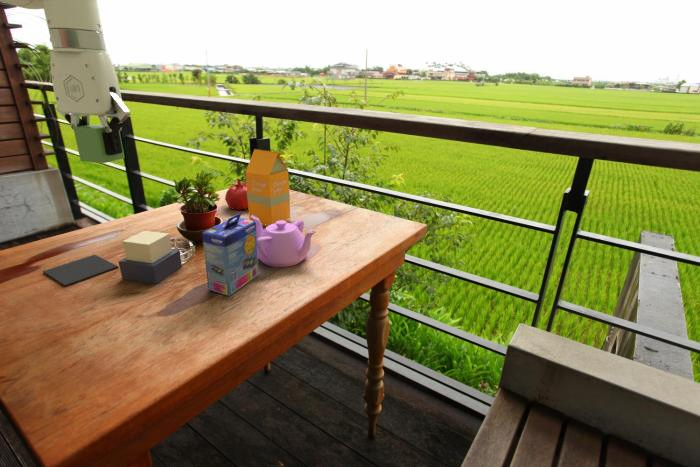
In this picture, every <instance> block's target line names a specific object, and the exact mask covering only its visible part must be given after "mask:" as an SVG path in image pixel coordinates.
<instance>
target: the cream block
mask: <svg viewBox="0 0 700 467" xmlns="http://www.w3.org/2000/svg"><path fill="white" fill-rule="evenodd" d="M122 246H123V250H124V256H125V257H126V260H132V261H139V262H146V263H154V262H155V261H157V260H159V259H160V258H162V257H163V256H165V255H167V254H168V253H170V252H172V249H173V248H172V242H171V235H170V233H168V232H159V231H153V230H152V231H150V230H142V231H141V232H139V233H136V234H135V235H132V236H130V237H128V238H126V239H124V240H122Z"/></svg>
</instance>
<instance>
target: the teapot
mask: <svg viewBox="0 0 700 467" xmlns="http://www.w3.org/2000/svg"><path fill="white" fill-rule="evenodd" d="M251 217H252V218H253V220H254V221H256V237H257V259H258V260H259V261H260V262H262V263H263V264H264V265H265V266H266V265H267V266H268V267H273V268H288V267H293V266H296V265H297V264H299V263H301V262H302V261H303V260H304V259H305V258H306V257H307V255H308V253H309V252H310V251H311V247H312V246H311V245H312V244H311V243H312V241H311V240H312V236H313V235H314V234H315V233H317V230H316V231H315V230H312V231H310V230H309V231H307V232H306V234H305V235H303V232H304V226H305V223H304V220H303V219H297V220H296V221H294V222H293V223H291V222H286V221H283V220H280V221H276V223H275V224H271V225H269V226H265V228H263V225H261V222H260V220H259V219H258V218H257V217H256V216H254V215H251Z"/></svg>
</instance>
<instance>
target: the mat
mask: <svg viewBox="0 0 700 467" xmlns="http://www.w3.org/2000/svg"><path fill="white" fill-rule="evenodd" d="M116 269H119V265H117V264H114V263H112V262H111V261H109V260H107V259H105V258H103V257H101V256H99V255H97V254H92V255H89V256H85V257H83V258H79V259H76V260H73V261H70V262H67V263H64V264H60V265H58V266H55V267H51V268H48V269H45V270H43V271H42V273H43V274H44V275H46V276H48V277H49V278H51V279H52V280H54V281H55V282H57V283H59V284H60V285H62V286H63V287H66V288H67V287H69V286H72V285H75V284H78V283H81V282H83V281H86V280H88V279H92V278H94V277H97V276H99V275H102V274H105V273H108V272H111V271H113V270H116Z"/></svg>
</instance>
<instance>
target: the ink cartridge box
mask: <svg viewBox="0 0 700 467" xmlns="http://www.w3.org/2000/svg"><path fill="white" fill-rule="evenodd" d="M241 216H242V212H238V213H237V214H235V215H233V216H231V217H229V218H228V219H227V220H225V221H223V222H222V223H219V224H216V225H214V226H212V227H210V228H207V229H206V230H204V231H203V232H201V235H202V236H201V237H202V245H203V253H204V262H205V271H206V280H207V289H208V291H212V292H215V293H218V294H221V295H223V296H227V297H231V295H233V294H235V293H236V292H237V291H239V290H240V289H241V288H242V287H244V286H245V285H247V284H248V283H249V282H251V281H253V280H254V279H256V278H257V277H259V263H258V262H259V261H258V260H259V259H258V257H257V237H256V221H252V220H249V218H243V217H241Z"/></svg>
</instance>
